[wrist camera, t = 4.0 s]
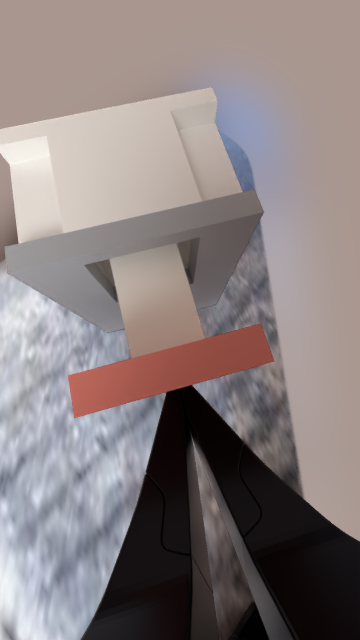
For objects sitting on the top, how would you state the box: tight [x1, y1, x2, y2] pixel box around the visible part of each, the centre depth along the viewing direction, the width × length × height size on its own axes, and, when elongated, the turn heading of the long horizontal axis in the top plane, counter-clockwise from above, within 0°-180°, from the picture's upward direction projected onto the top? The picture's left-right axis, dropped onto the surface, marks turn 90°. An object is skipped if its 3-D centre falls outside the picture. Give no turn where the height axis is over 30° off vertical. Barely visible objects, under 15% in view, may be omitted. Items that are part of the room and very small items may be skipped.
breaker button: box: [68, 243, 274, 418], centre depth 10 cm, size 8×5×6 cm, turn 15°
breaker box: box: [0, 87, 264, 333], centre depth 14 cm, size 6×9×11 cm
